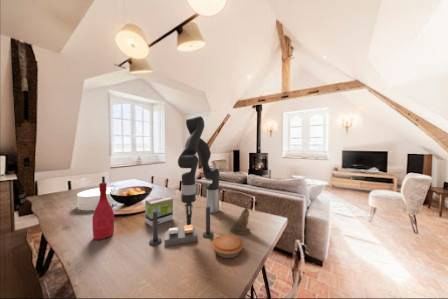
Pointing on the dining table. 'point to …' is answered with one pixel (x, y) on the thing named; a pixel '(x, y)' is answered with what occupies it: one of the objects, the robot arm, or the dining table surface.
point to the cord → (155, 230)
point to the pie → (227, 245)
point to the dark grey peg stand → (208, 224)
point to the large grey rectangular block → (180, 237)
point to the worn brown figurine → (241, 223)
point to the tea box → (159, 209)
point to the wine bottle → (103, 216)
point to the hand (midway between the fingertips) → (188, 224)
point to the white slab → (172, 230)
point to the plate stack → (92, 198)
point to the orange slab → (188, 229)
